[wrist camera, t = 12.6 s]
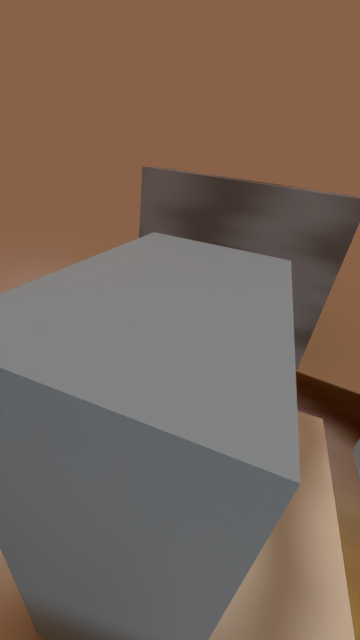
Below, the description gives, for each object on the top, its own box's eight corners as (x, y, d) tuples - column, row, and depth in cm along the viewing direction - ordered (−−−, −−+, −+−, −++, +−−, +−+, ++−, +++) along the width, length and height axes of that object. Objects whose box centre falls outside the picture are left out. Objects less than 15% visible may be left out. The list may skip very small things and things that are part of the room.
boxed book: (217, 483, 16) (291, 260, 9) (163, 715, 9) (300, 483, 2) (137, 450, 17) (154, 232, 10) (37, 632, 10) (-95, 331, 4)
